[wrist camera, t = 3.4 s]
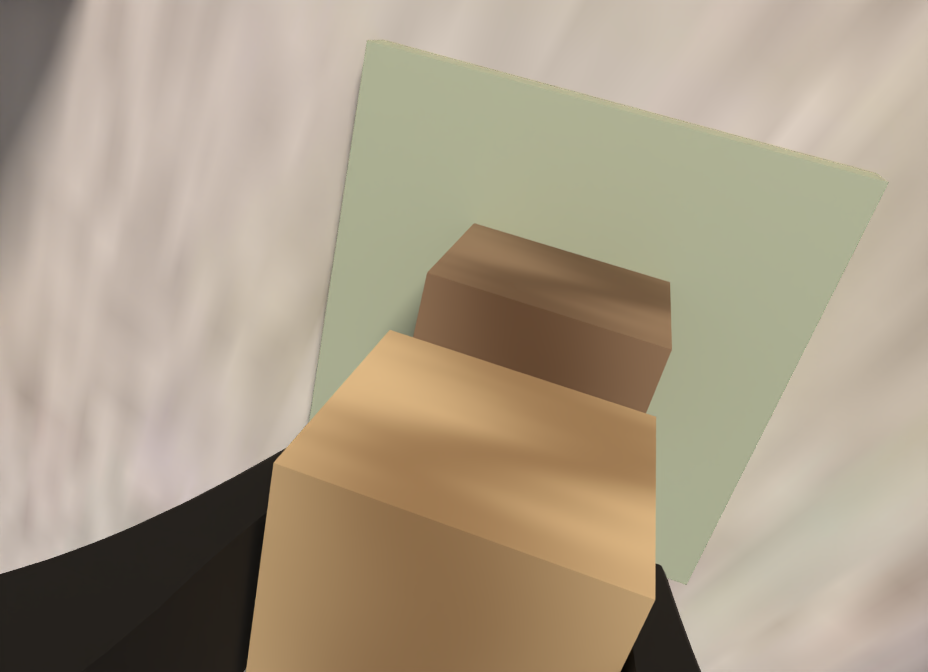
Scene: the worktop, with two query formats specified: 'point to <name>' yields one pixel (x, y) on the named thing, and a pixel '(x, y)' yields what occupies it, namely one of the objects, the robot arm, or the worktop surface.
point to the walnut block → (549, 315)
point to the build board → (600, 244)
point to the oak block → (457, 524)
